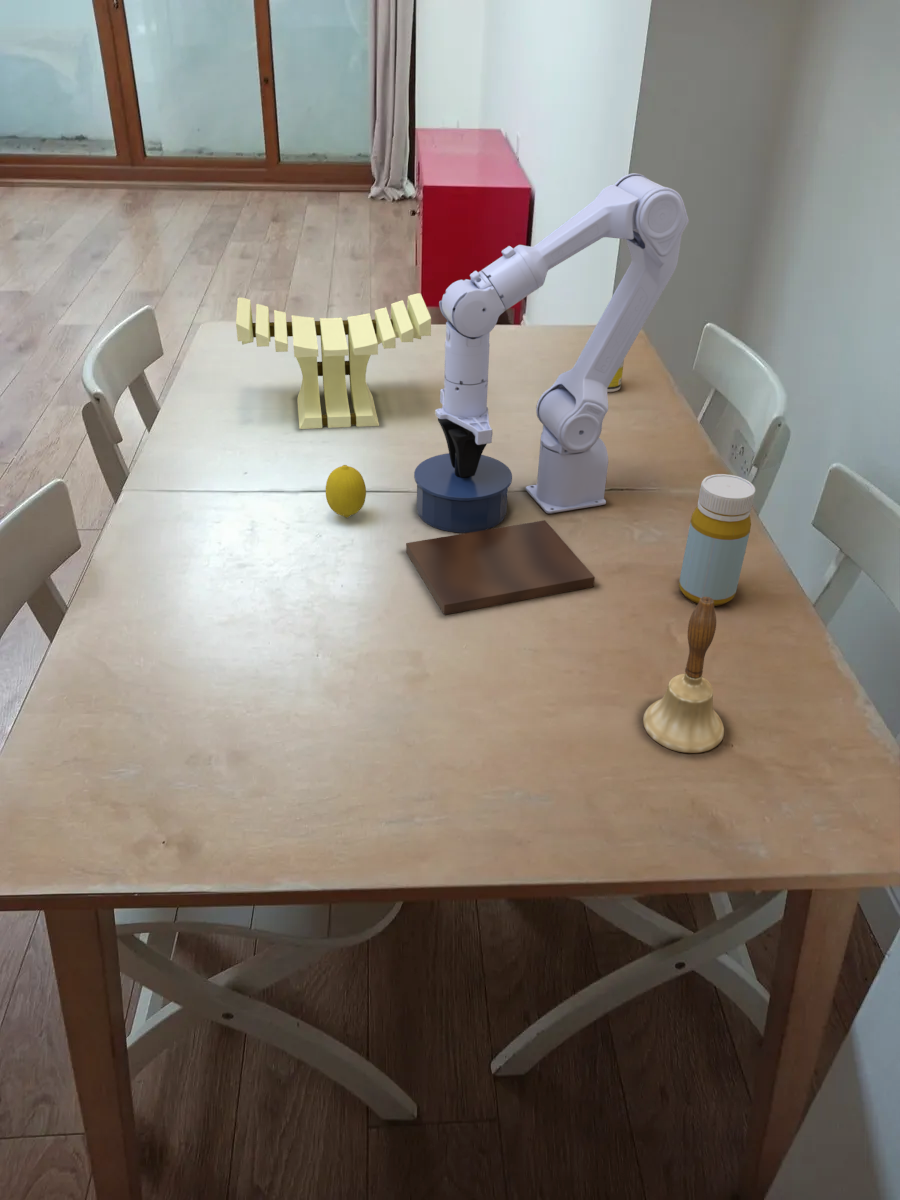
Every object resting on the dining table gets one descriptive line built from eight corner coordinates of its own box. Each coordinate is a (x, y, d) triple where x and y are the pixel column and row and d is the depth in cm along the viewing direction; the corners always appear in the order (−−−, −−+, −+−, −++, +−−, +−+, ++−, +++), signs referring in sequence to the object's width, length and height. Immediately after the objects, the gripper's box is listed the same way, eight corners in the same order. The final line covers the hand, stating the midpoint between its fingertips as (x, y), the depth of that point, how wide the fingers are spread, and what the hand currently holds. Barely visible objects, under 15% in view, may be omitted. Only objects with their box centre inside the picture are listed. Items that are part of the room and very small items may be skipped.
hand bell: (672, 762, 97) (699, 633, 88) (627, 711, 103) (648, 586, 94) (740, 741, 99) (773, 613, 90) (692, 692, 106) (719, 569, 97)
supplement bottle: (584, 384, 178) (590, 331, 172) (610, 380, 180) (616, 328, 174) (600, 394, 174) (607, 341, 168) (626, 390, 176) (633, 337, 170)
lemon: (360, 529, 133) (358, 476, 128) (321, 524, 134) (318, 472, 129) (371, 510, 137) (370, 458, 133) (333, 505, 138) (331, 454, 134)
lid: (490, 454, 142) (491, 425, 140) (527, 496, 132) (529, 466, 129) (401, 466, 139) (401, 437, 136) (432, 511, 128) (433, 480, 125)
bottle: (737, 583, 124) (761, 478, 115) (731, 613, 118) (756, 504, 110) (682, 572, 126) (701, 468, 117) (674, 601, 120) (694, 494, 112)
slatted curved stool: (417, 387, 175) (418, 287, 165) (429, 423, 162) (431, 318, 152) (248, 393, 171) (238, 291, 161) (246, 431, 158) (235, 323, 148)
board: (544, 529, 134) (545, 520, 133) (593, 586, 122) (594, 576, 122) (406, 552, 128) (406, 542, 127) (444, 615, 117) (444, 604, 116)
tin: (486, 484, 145) (488, 454, 142) (520, 524, 135) (522, 493, 132) (405, 496, 141) (405, 465, 138) (434, 538, 131) (434, 507, 128)
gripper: (419, 360, 131) (419, 452, 139) (456, 401, 120) (454, 498, 128) (468, 355, 133) (465, 445, 141) (509, 395, 122) (503, 491, 130)
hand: (463, 470), depth 134 cm, fingers closed on lid, 2 cm apart
